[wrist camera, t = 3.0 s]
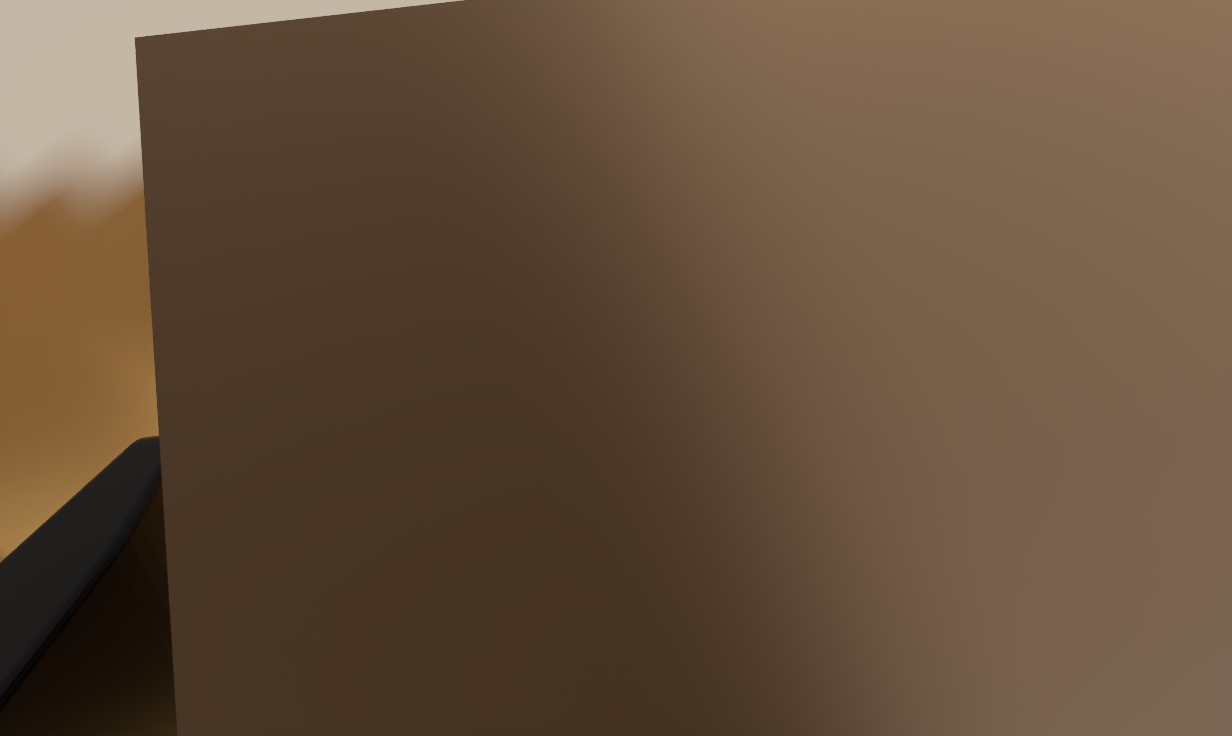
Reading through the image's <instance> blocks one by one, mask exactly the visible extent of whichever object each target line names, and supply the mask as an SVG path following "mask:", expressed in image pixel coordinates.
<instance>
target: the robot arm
mask: <svg viewBox="0 0 1232 736" xmlns="http://www.w3.org/2000/svg"><path fill="white" fill-rule="evenodd" d="M0 736H177V720H176V703H175V687H174V671H173V654H172V638H171V621H170V605H169V589H168V572H167V556H166V539H165V523H164V507H163V490H162V474H161V457H160V441H159V436H152V437H145V438H141V439H138V440H136V441H135V442H134V443H132V444H131V445H130V446H129V447H128V448H127V449H125V450H124V451H123V452H122V453H121V454H120V455H119V456H118V457H117V458H115V459H114V460H113V461H112V462H111V463H110V464H109V465H108V466H107V467H106V468H104V469H103V470H102V471H101V472H100V473H99V474H98V475H97V476H96V477H94V478H93V479H92V480H91V481H90V482H89V483H88V484H87V485H86V486H84V487H83V488H82V489H81V490H80V491H79V492H78V493H77V494H76V495H74V496H73V497H72V498H71V499H70V500H69V501H68V502H67V503H66V504H65V505H63V506H62V507H61V508H60V509H59V510H58V511H57V512H56V513H55V514H53V515H52V516H51V517H50V518H49V519H48V520H47V521H46V522H45V523H43V524H42V525H41V526H40V527H39V528H38V529H37V530H36V531H35V532H34V533H32V534H31V535H30V536H29V537H28V538H27V539H26V540H25V541H24V542H22V543H21V544H20V545H19V546H18V547H17V548H16V549H15V550H14V551H12V552H11V553H10V554H9V555H8V556H7V557H6V558H5V559H4V560H3V561H1V562H0Z"/></svg>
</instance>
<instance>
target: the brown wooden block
mask: <svg viewBox="0 0 1232 736" xmlns="http://www.w3.org/2000/svg"><path fill="white" fill-rule="evenodd" d="M135 47H136V64H137V80H138V97H139V113H140V128H141V146H142V162H143V179H144V195H145V212H146V228H147V244H148V261H149V277H150V293H151V310H152V326H153V343H154V359H155V375H156V392H157V408H158V425H159V441H160V457H161V474H162V490H163V507H164V523H165V539H166V556H167V572H168V589H169V605H170V621H171V638H172V654H173V671H174V687H175V703H176V720H177V736H1232V0H464V1H455V2H446V3H437V4H429V5H420V6H412V7H402V8H394V9H385V10H375V11H366V12H358V13H349V14H340V15H331V16H323V17H314V18H305V19H296V20H287V21H278V22H269V23H260V24H252V25H243V26H234V27H225V28H216V29H207V30H199V31H191V32H181V33H172V34H164V35H154V36H146V37H137V38H135Z"/></svg>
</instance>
